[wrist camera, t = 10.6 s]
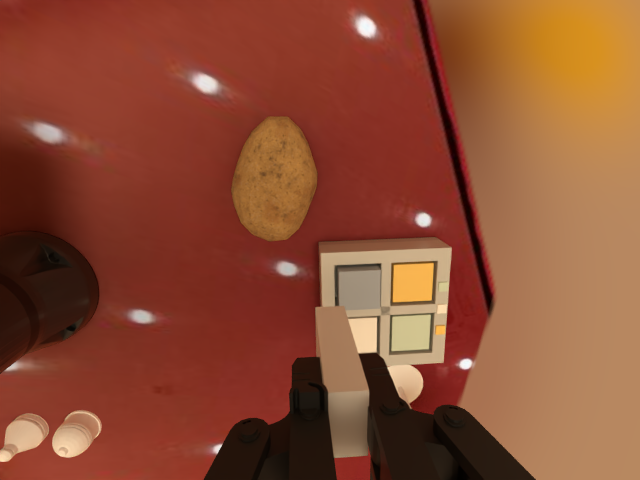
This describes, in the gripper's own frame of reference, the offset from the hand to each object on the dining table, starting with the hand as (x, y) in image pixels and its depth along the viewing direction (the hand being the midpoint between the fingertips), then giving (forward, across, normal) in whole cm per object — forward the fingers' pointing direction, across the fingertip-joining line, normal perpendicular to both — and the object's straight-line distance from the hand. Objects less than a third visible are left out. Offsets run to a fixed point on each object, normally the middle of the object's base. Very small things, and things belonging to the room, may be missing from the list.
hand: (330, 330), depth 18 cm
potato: (+29, -4, +6) cm, 30 cm away
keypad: (+29, +9, -11) cm, 32 cm away
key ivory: (+27, +6, -15) cm, 31 cm away
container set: (+30, -42, -30) cm, 60 cm away
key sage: (+27, +13, -15) cm, 33 cm away
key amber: (+27, +13, -8) cm, 30 cm away
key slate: (+25, +6, -8) cm, 27 cm away
